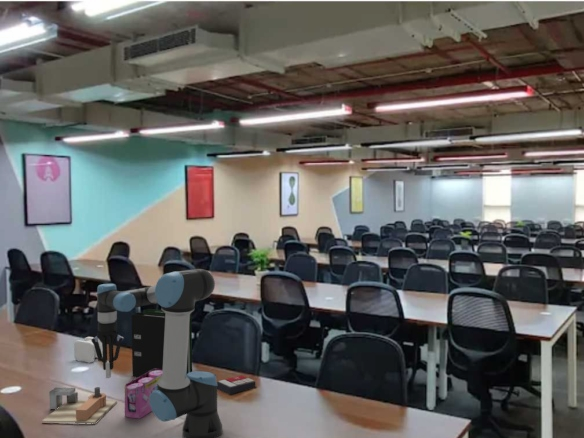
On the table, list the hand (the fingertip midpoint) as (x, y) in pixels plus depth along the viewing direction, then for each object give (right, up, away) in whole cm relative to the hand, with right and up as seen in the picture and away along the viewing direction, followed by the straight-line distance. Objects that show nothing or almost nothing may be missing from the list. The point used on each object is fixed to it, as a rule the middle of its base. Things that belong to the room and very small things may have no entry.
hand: (108, 377), depth 217 cm
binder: (+10, -15, +49) cm, 53 cm away
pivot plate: (-13, -16, +3) cm, 21 cm away
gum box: (+14, -16, +8) cm, 23 cm away
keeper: (-23, -16, +10) cm, 29 cm away
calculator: (+50, -15, +31) cm, 61 cm away
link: (-8, -15, +2) cm, 17 cm away
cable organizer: (-38, -14, +78) cm, 87 cm away
